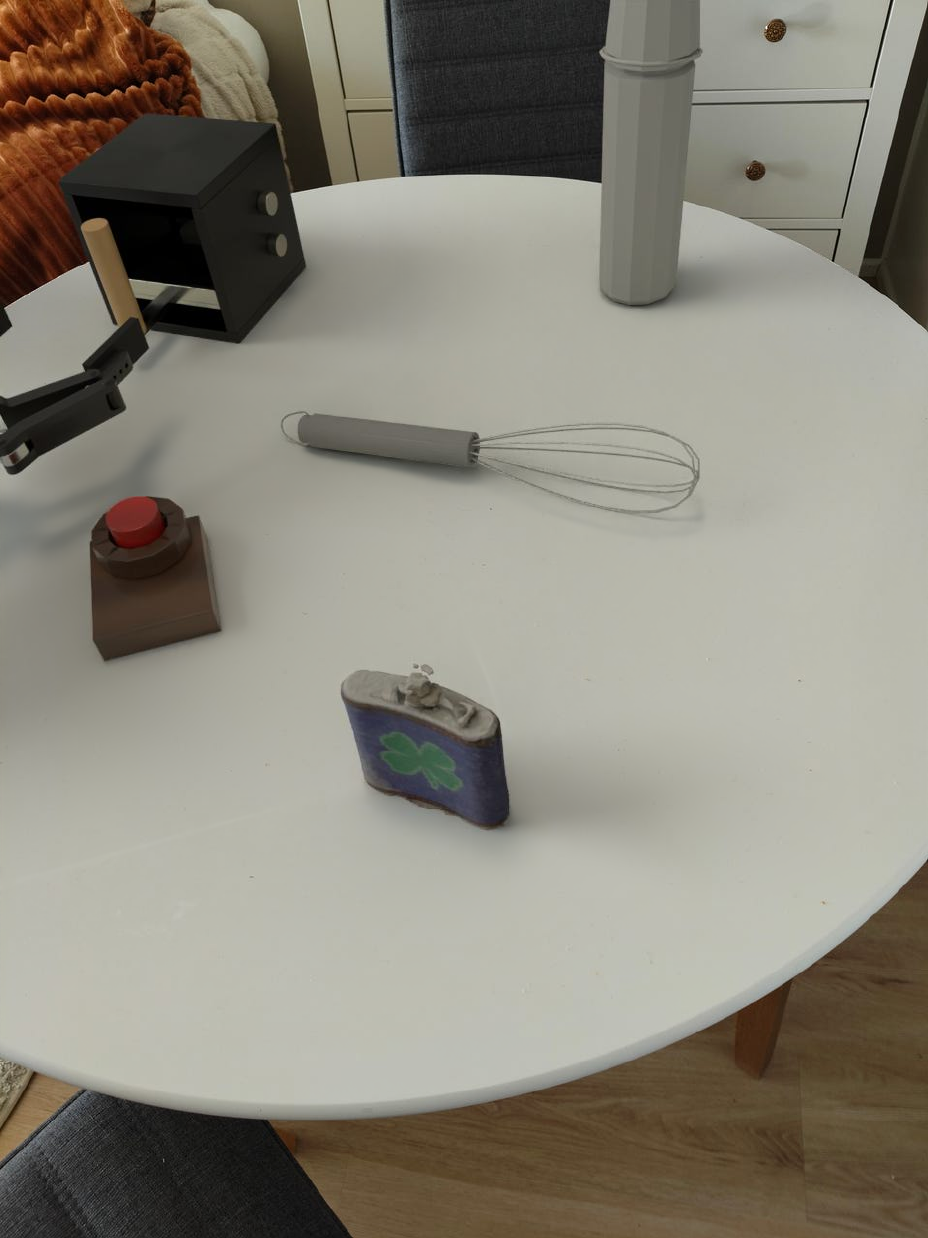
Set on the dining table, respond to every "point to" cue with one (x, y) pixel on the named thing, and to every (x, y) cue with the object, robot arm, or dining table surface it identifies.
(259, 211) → the oven
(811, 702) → the dining table surface
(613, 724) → the dining table surface
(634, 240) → the water bottle
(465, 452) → the kitchen whisk
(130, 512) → the button
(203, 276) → the tray
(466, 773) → the flask
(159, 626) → the brown boxy piece
